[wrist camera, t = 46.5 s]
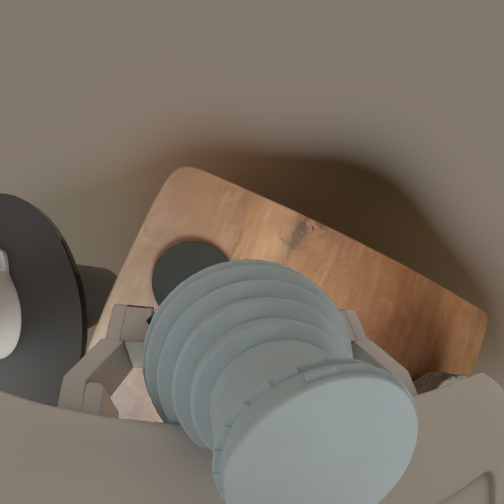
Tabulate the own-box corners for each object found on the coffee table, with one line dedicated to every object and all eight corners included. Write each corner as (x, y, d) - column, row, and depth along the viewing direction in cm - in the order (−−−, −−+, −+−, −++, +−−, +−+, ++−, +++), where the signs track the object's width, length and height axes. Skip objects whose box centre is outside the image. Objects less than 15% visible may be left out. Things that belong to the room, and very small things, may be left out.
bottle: (263, 350, 22) (462, 501, 3) (181, 364, 21) (165, 600, 2) (251, 269, 23) (475, 202, 4) (167, 281, 22) (16, 255, 2)
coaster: (140, 304, 34) (139, 304, 33) (172, 229, 36) (172, 228, 35) (215, 336, 36) (216, 337, 35) (246, 262, 37) (247, 262, 37)
